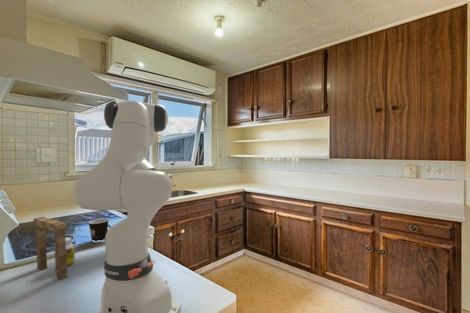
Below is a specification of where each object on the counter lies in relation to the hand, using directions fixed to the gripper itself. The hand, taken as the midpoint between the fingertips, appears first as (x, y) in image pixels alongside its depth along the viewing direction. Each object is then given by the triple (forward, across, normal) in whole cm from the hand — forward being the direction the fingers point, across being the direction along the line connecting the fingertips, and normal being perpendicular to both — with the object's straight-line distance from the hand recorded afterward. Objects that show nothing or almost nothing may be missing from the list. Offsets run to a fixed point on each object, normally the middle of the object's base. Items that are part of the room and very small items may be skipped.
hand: (96, 194), depth 108 cm
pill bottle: (+14, 0, -26) cm, 29 cm away
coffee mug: (-9, +15, -26) cm, 32 cm away
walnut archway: (+18, 0, -26) cm, 32 cm away
